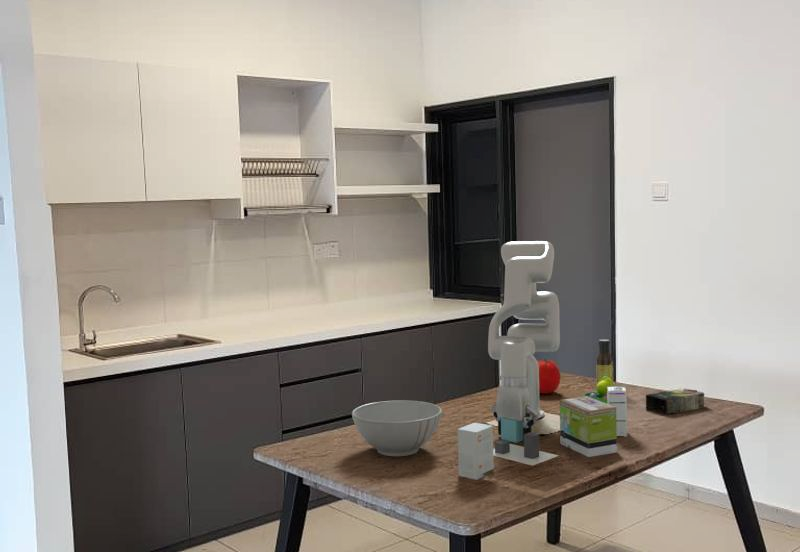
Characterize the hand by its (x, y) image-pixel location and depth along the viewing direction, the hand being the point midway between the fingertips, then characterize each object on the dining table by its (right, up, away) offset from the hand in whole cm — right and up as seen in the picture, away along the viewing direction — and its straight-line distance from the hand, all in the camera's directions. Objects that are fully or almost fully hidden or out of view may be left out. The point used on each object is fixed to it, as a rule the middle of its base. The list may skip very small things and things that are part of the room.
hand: (514, 436), depth 255 cm
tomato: (+20, +4, +64) cm, 68 cm away
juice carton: (+61, +2, +36) cm, 71 cm away
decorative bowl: (-35, -3, -4) cm, 36 cm away
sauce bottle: (+43, +5, +64) cm, 77 cm away
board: (0, -3, -15) cm, 16 cm away
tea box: (+20, -3, -11) cm, 23 cm away
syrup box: (+33, -1, +6) cm, 33 cm away
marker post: (+2, -2, -18) cm, 19 cm away
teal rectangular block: (0, -2, 0) cm, 2 cm away
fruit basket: (+36, +2, +38) cm, 52 cm away
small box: (-14, -5, -28) cm, 32 cm away
